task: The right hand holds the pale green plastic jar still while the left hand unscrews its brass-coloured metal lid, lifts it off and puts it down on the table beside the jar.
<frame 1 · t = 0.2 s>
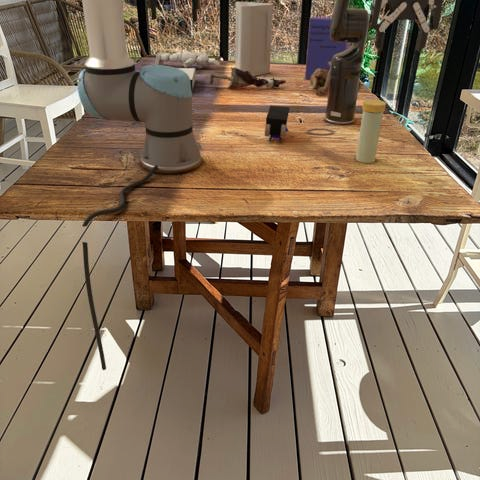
left hand: (174, 20, 152), 28 cm above the table, tool pointing down, fingers open, 13 cm apart
right hand: (398, 50, 103), 29 cm above the table, tool pointing down, fingers open, 8 cm apart
figurine character: (276, 137, 142), on the table
cereal box: (325, 78, 209), on the table
disc drive: (172, 86, 193), on the table
anatomical model: (320, 92, 189), on the table
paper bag: (253, 72, 218), on the table
toy: (188, 67, 225), on the table
jar: (365, 159, 127), on the table
figurine: (247, 88, 192), on the table
lid: (374, 103, 119), point 15 cm above the table, screwed on, not yet turned
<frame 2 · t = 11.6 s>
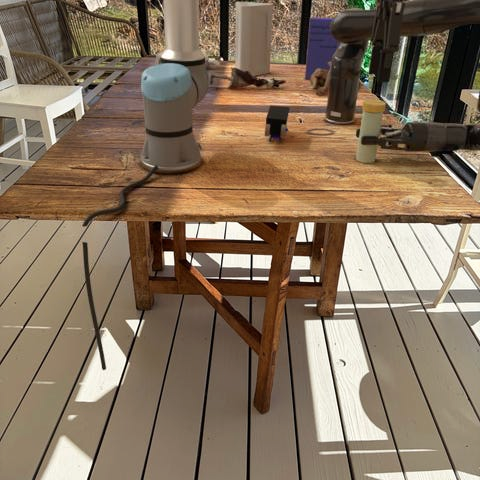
left hand: (378, 77, 116), 21 cm above the table, tool pointing down, fingers open, 8 cm apart
right hand: (359, 136, 124), 6 cm above the table, tool horizontal, fingers closed on jar, 5 cm apart
jar: (365, 159, 127), on the table, touching right hand
everything else where it was.
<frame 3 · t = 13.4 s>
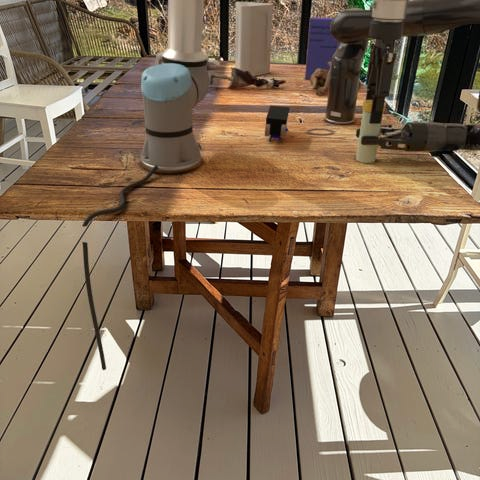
left hand: (371, 119, 121), 11 cm above the table, tool pointing down, fingers closed on lid, 6 cm apart
right hand: (359, 136, 124), 6 cm above the table, tool horizontal, fingers closed on jar, 5 cm apart
jar: (365, 159, 127), on the table, touching right hand
lid: (374, 103, 119), point 15 cm above the table, screwed on, not yet turned, touching left hand
everything else where it was.
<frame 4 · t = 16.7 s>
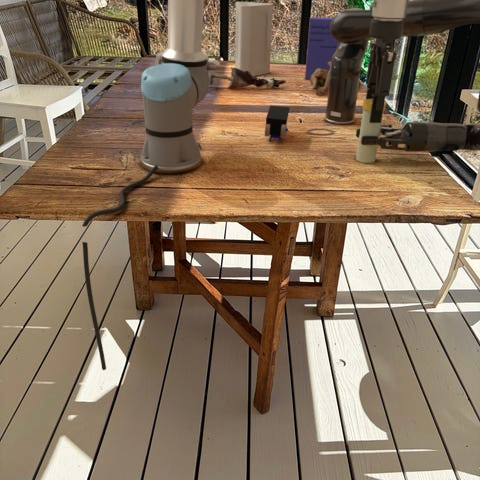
left hand: (371, 118, 121), 11 cm above the table, tool pointing down, fingers closed on lid, 6 cm apart
right hand: (359, 136, 124), 6 cm above the table, tool horizontal, fingers closed on jar, 5 cm apart
jar: (365, 159, 127), on the table, touching right hand
lid: (374, 103, 119), point 15 cm above the table, turned 122° so far, risen 0.2 cm, still on its thread, touching left hand
everything else where it was.
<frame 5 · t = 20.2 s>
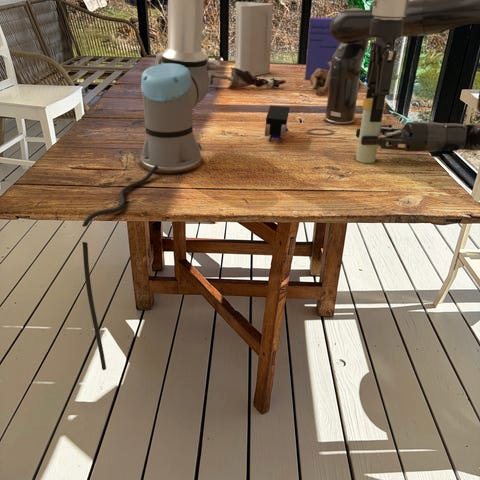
left hand: (372, 117, 121), 11 cm above the table, tool pointing down, fingers closed on lid, 6 cm apart
right hand: (359, 136, 124), 6 cm above the table, tool horizontal, fingers closed on jar, 5 cm apart
jar: (365, 159, 127), on the table, touching right hand
lid: (374, 102, 119), point 15 cm above the table, turned 243° so far, risen 0.4 cm, still on its thread, touching left hand
everything else where it was.
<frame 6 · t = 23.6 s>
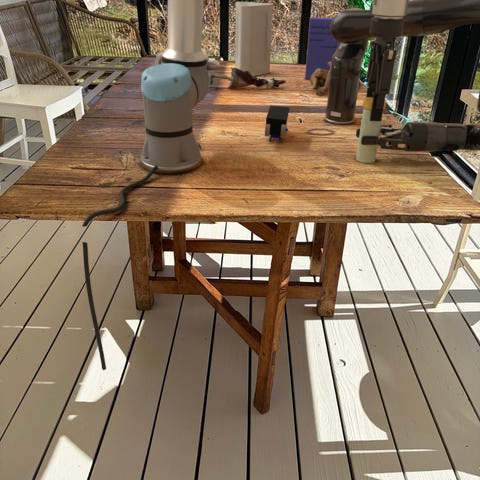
left hand: (372, 116, 121), 12 cm above the table, tool pointing down, fingers closed on lid, 6 cm apart
right hand: (359, 136, 124), 6 cm above the table, tool horizontal, fingers closed on jar, 5 cm apart
jar: (365, 159, 127), on the table, touching right hand
lid: (374, 101, 119), point 15 cm above the table, turned 365° so far, risen 0.6 cm, still on its thread, touching left hand
everything else where it was.
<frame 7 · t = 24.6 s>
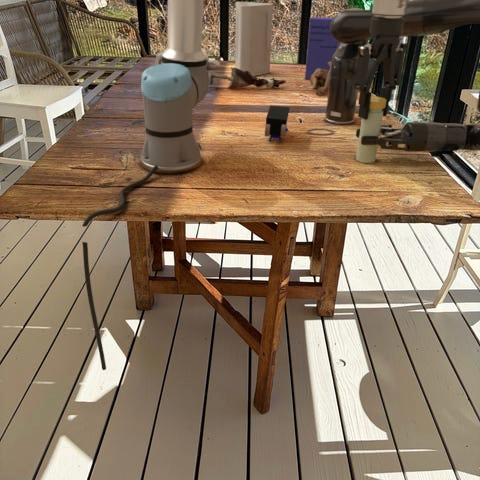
left hand: (372, 116, 121), 12 cm above the table, tool pointing down, fingers closed on lid, 6 cm apart
right hand: (359, 136, 124), 6 cm above the table, tool horizontal, fingers closed on jar, 5 cm apart
jar: (365, 159, 127), on the table, touching right hand
lid: (374, 100, 119), point 16 cm above the table, off its thread, touching left hand
everything else where it was.
when the left hand's fingers open (0 cm above the table, at t = 29.9 s): lid drops 3 cm, point 1 cm above the table.
when the right hand's fingers open (6 cm above the table, at t = 30.5 s): jar stays where it is, on the table.
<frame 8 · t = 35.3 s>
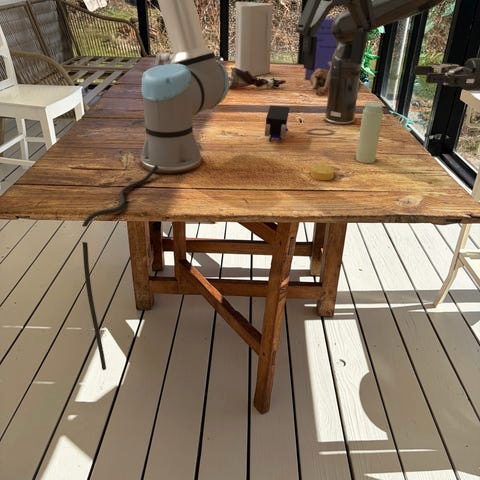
left hand: (333, 66, 104), 26 cm above the table, tool pointing down, fingers open, 13 cm apart
right hand: (420, 74, 116), 22 cm above the table, tool horizontal, fingers open, 8 cm apart
jar: (365, 159, 127), on the table
lid: (322, 170, 117), point 1 cm above the table, off its thread
everything else where it was.
at the end: lid came off its thread; lid point 1.4 cm above the table; the left hand is holding nothing; the right hand is holding nothing; jar tilted 0°; jar moved 0.0 cm from its start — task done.
